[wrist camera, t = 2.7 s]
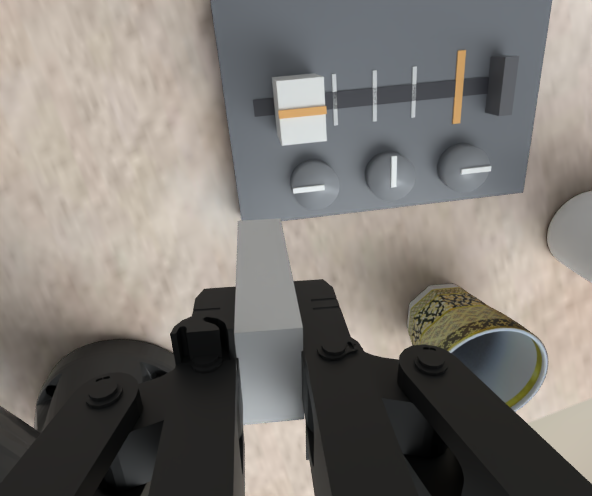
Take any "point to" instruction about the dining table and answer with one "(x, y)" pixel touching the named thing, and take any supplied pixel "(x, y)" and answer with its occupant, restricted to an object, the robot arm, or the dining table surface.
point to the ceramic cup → (480, 341)
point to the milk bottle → (573, 235)
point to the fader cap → (300, 108)
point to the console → (382, 100)
